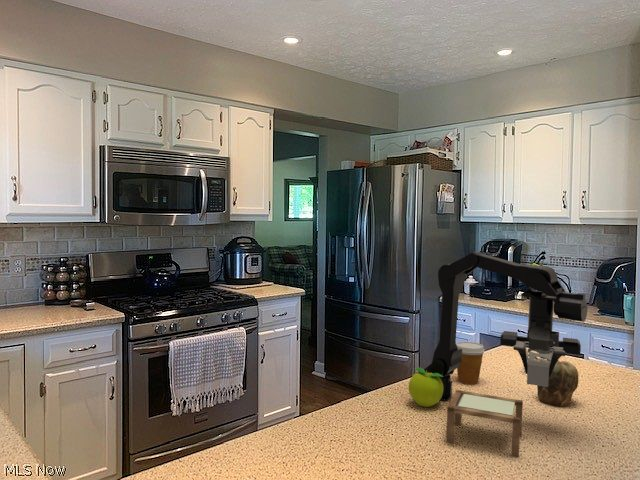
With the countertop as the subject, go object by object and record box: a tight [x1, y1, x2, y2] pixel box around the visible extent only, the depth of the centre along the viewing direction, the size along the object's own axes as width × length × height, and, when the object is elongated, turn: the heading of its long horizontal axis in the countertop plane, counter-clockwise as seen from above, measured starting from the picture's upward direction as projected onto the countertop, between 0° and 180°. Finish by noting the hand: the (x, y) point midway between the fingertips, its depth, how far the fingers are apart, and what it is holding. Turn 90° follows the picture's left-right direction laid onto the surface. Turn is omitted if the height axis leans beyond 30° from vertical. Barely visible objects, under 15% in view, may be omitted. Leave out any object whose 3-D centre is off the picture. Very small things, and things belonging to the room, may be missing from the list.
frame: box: [445, 389, 524, 458], centre depth 121 cm, size 16×13×8 cm
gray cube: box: [526, 360, 549, 387], centre depth 130 cm, size 5×5×5 cm
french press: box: [523, 347, 552, 375], centre depth 172 cm, size 10×12×25 cm
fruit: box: [408, 367, 443, 408], centre depth 142 cm, size 9×9×10 cm
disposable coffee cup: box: [456, 341, 486, 385], centre depth 163 cm, size 10×10×12 cm
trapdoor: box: [457, 394, 516, 416], centre depth 121 cm, size 12×9×1 cm
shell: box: [536, 359, 580, 407], centre depth 147 cm, size 11×11×12 cm
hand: (537, 375), depth 130 cm, fingers closed on gray cube, 5 cm apart
